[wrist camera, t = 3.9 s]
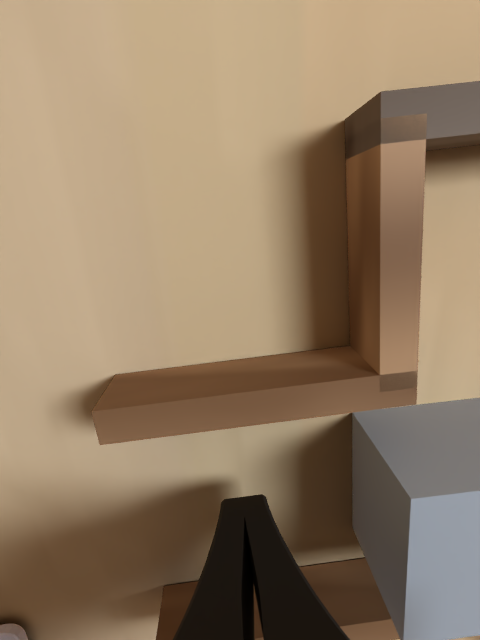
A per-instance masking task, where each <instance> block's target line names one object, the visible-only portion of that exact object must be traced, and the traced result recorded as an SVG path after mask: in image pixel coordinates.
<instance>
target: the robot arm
mask: <svg viewBox="0 0 480 640" xmlns="http://www.w3.org/2000/svg"><path fill="white" fill-rule="evenodd" d="M254 588H255V594H256V600H257V605H258V611H259V617H260V622H261V628H262V633H263V639H264V640H350V639H349V638H348V636H347V635H346V634H345V633H344V631H343V630H342V629H341V628H340V626H339V625H338V624H337V622H336V621H335V620H334V618H333V617H332V616H331V614H330V613H329V612H328V610H327V609H326V607H325V606H324V605H323V603H322V602H321V600H320V599H319V597H318V596H317V595H316V593H315V592H314V590H313V589H312V587H311V586H310V584H309V582H308V581H307V579H306V578H305V576H304V574H303V573H302V571H301V570H300V568H299V566H298V565H297V563H296V561H295V560H294V558H293V556H292V554H291V553H290V551H289V549H288V547H287V545H286V543H285V541H284V540H283V538H282V536H281V534H280V532H279V530H278V528H277V525H276V523H275V521H274V519H273V516H272V514H271V511H270V509H269V506H268V503H267V499H266V497H265V496H264V495H262V494H261V495H254V496H246V497H239V498H231V499H224V500H223V502H222V503H221V509H220V514H219V519H218V523H217V527H216V531H215V534H214V538H213V541H212V544H211V548H210V551H209V554H208V557H207V560H206V563H205V566H204V568H203V571H202V574H201V576H200V579H199V581H198V584H197V586H196V589H195V592H194V594H193V596H192V599H191V601H190V603H189V606H188V608H187V610H186V613H185V615H184V617H183V619H182V621H181V623H180V625H179V628H178V630H177V632H176V634H175V636H174V638H173V640H255V637H254ZM0 640H28V638H27V635H26V633H25V631H24V629H23V628H22V627H21V626H20V625H17V624H2V625H0Z"/></svg>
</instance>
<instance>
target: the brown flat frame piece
mask: <svg viewBox="0 0 480 640" xmlns="http://www.w3.org/2000/svg"><path fill="white" fill-rule="evenodd" d="M345 144H346V189H347V234H348V279H349V324H350V346H344V347H336V348H327V349H319V350H311V351H303V352H295V353H287V354H279V355H271V356H263V357H255V358H247V359H239V360H231V361H223V362H215V363H207V364H199V365H190V366H182V367H174V368H166V369H158V370H150V371H142V372H134V373H126V374H118V375H115V376H114V378H113V379H112V381H111V382H110V384H109V385H108V387H107V388H106V390H105V391H104V393H103V394H102V396H101V397H100V399H99V401H98V402H97V404H96V405H95V407H94V408H93V410H92V411H91V413H92V417H93V421H94V424H95V428H96V432H97V436H98V440H99V444H100V445H104V444H112V443H120V442H127V441H135V440H143V439H151V438H159V437H166V436H174V435H182V434H190V433H197V432H205V431H213V430H221V429H229V428H236V427H244V426H252V425H260V424H268V423H275V422H283V421H291V420H299V419H306V418H314V417H322V416H330V415H338V414H345V413H353V412H361V411H369V410H376V409H384V408H392V407H400V406H408V405H415V404H416V399H417V372H418V345H419V318H420V290H421V263H422V236H423V209H424V182H425V154H426V151H429V150H438V149H447V148H456V147H465V146H474V145H480V81H475V82H466V83H457V84H448V85H438V86H429V87H420V88H410V89H401V90H392V91H382V92H380V93H379V94H377V95H376V96H375V97H373V98H372V99H371V100H369V101H368V102H367V103H366V104H364V105H363V106H362V107H360V108H359V109H358V110H356V111H355V112H354V113H353V114H351V115H350V116H349V117H347V118H346V119H345ZM299 568H300V570H301V571H302V573H303V574H304V576H305V578H306V579H307V581H308V582H309V584H310V586H311V587H312V589H313V590H314V592H315V593H316V595H317V596H318V597H319V599H320V600H321V602H322V603H323V605H324V606H325V607H326V609H327V610H328V612H329V613H330V614H331V616H332V617H333V618H334V620H335V621H336V622H337V624H338V625H339V626H340V628H341V629H342V630H343V631H344V633H345V634H346V635H347V636H348V638H349V639H350V640H395V639H400V637H399V635H398V633H397V630H396V628H395V626H394V623H393V621H392V619H391V616H390V614H389V612H388V609H387V607H386V605H385V602H384V600H383V598H382V595H381V593H380V591H379V588H378V586H377V584H376V581H375V579H374V577H373V574H372V572H371V570H370V567H369V565H368V563H367V560H366V558H363V559H356V560H348V561H341V562H334V563H327V564H319V565H312V566H305V567H299ZM197 584H198V581H197V582H189V583H182V584H175V585H168V586H164V589H163V596H162V602H161V609H160V616H159V623H158V629H157V636H156V640H173V638H174V636H175V634H176V632H177V630H178V628H179V625H180V623H181V621H182V619H183V617H184V615H185V613H186V610H187V608H188V606H189V603H190V601H191V599H192V596H193V594H194V592H195V589H196V586H197ZM254 637H255V640H264V639H263V633H262V628H261V622H260V617H259V611H258V605H257V600H256V594H255V588H254Z"/></svg>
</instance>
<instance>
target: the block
mask: <svg viewBox="0 0 480 640" xmlns="http://www.w3.org/2000/svg"><path fill="white" fill-rule="evenodd" d="M352 522H353V530H354V532H355V535H356V537H357V539H358V542H359V544H360V546H361V549H362V551H363V553H364V556H365V558H366V560H367V563H368V565H369V567H370V570H371V572H372V574H373V577H374V579H375V581H376V584H377V586H378V588H379V591H380V593H381V595H382V598H383V600H384V602H385V605H386V607H387V609H388V612H389V614H390V616H391V619H392V621H393V623H394V626H395V628H396V630H397V633H398V635H399V637H400V640H448V639H456V638H463V637H471V636H478V635H480V398H473V399H464V400H455V401H447V402H438V403H429V404H420V405H412V406H403V407H394V408H385V409H376V410H369V411H361V412H353V413H352Z"/></svg>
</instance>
